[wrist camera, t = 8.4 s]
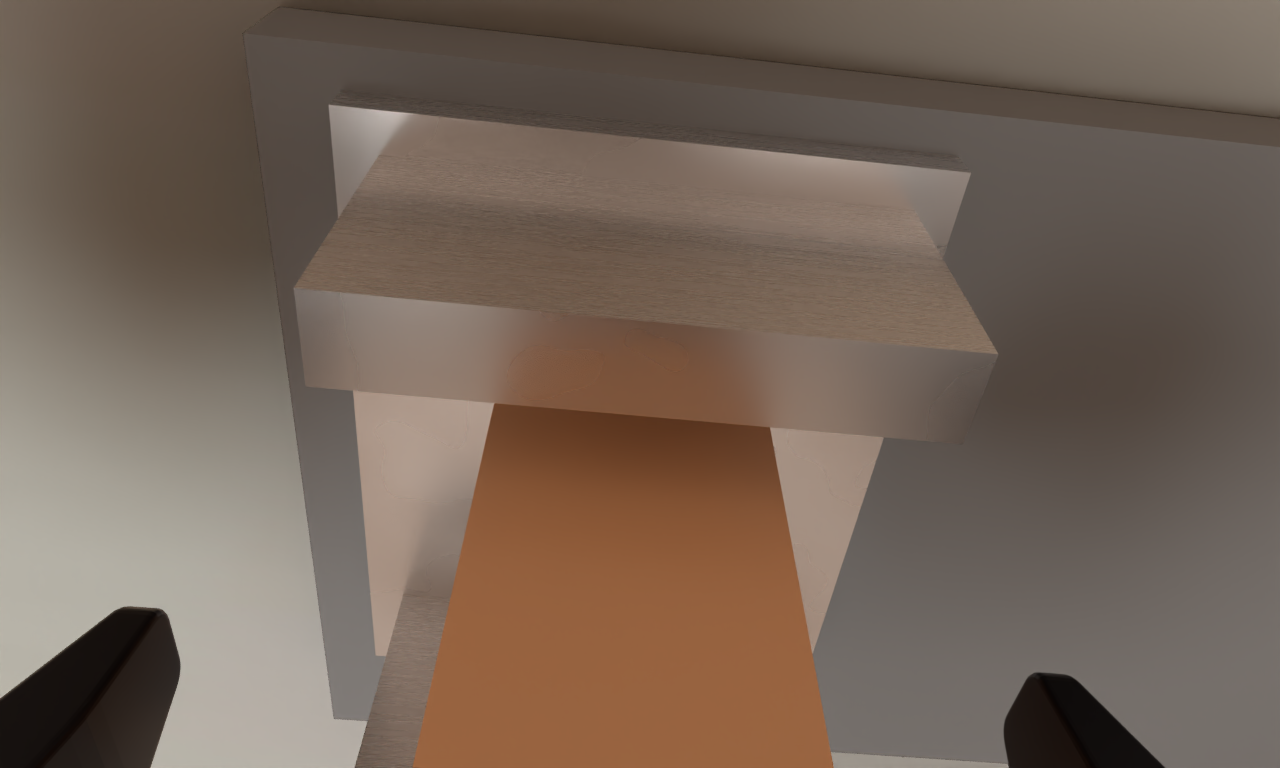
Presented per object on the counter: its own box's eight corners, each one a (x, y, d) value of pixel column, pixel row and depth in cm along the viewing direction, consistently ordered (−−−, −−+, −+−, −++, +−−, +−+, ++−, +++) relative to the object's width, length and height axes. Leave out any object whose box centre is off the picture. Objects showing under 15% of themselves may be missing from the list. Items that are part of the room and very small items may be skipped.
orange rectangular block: (703, 569, 14) (738, 1031, 9) (502, 552, 14) (421, 1015, 9) (754, 343, 11) (839, 796, 7) (512, 319, 11) (411, 766, 6)
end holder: (797, 660, 16) (832, 867, 13) (382, 631, 15) (322, 835, 12) (958, 156, 11) (1076, 310, 8) (341, 89, 10) (222, 227, 7)
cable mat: (1342, 733, 19) (1380, 788, 18) (351, 664, 18) (333, 718, 17) (1840, 180, 12) (1945, 221, 11) (279, 6, 11) (242, 32, 10)
